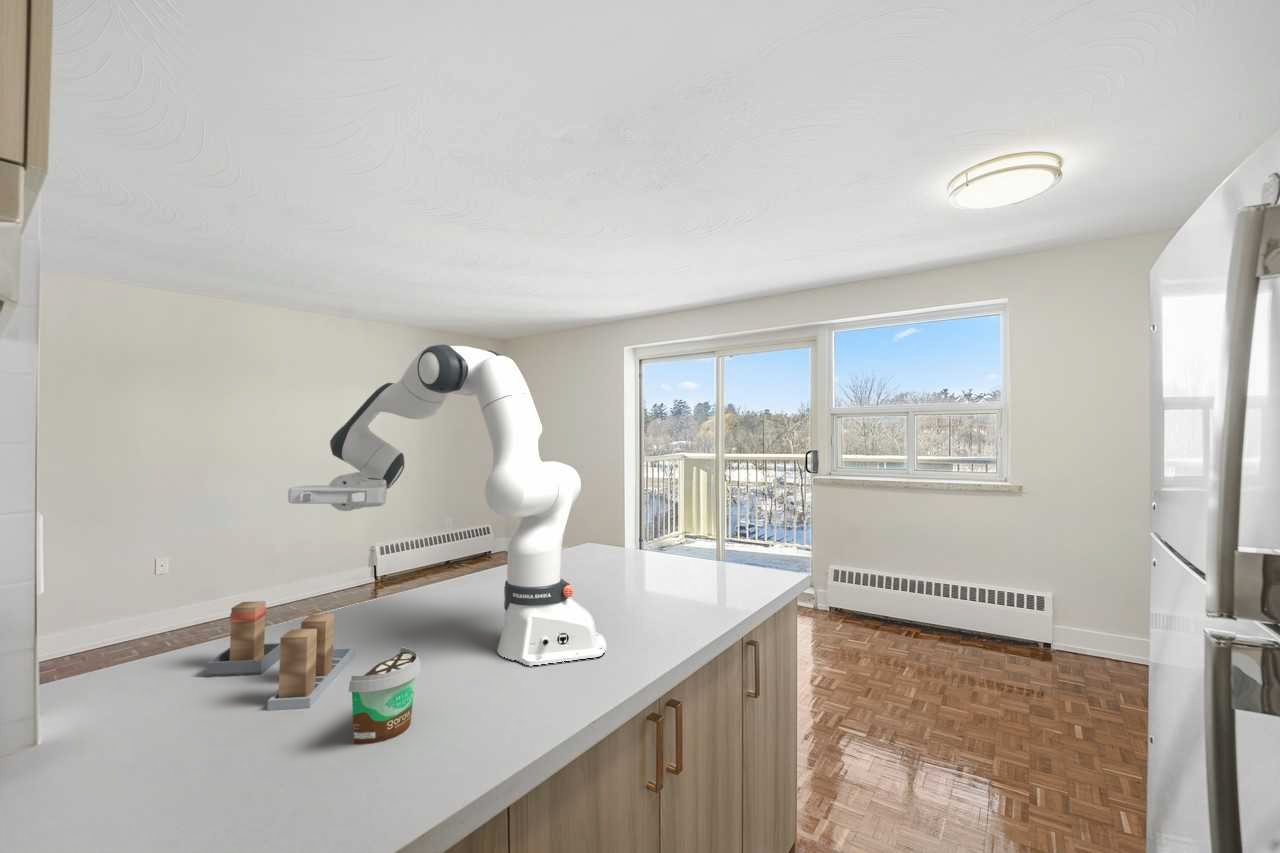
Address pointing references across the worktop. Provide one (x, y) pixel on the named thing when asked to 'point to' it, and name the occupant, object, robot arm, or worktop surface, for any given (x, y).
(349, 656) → the holder
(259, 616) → the block
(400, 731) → the food container
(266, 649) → the tray
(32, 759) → the worktop surface
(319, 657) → the plain cartridge
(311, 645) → the plain cartridge
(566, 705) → the worktop surface
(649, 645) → the worktop surface
